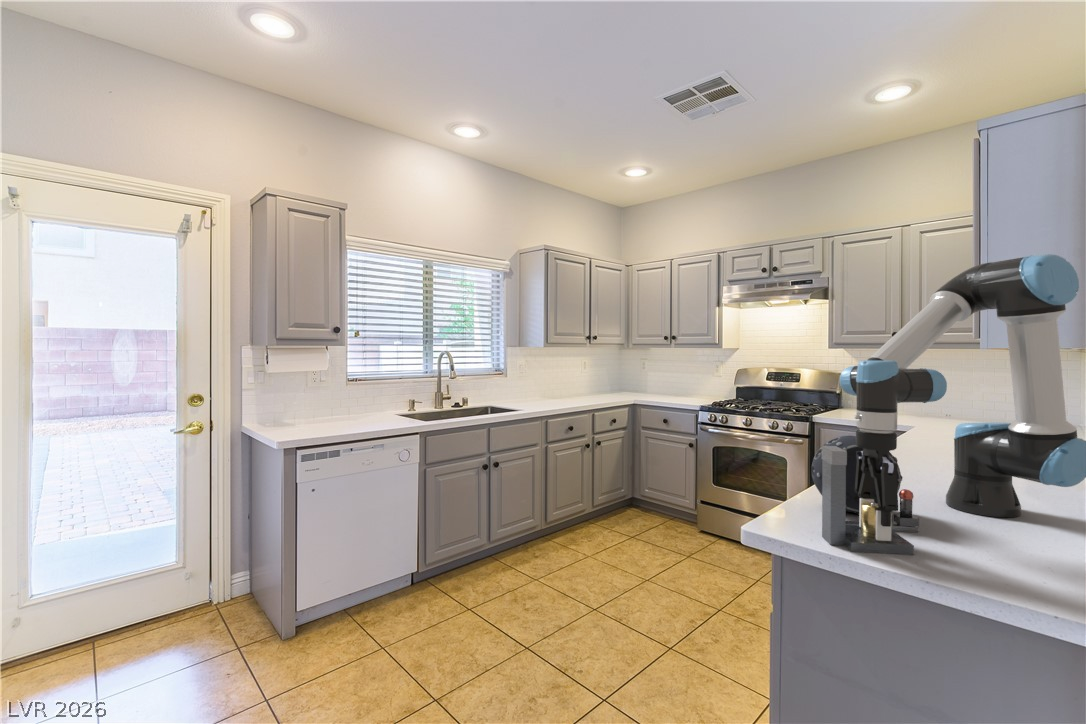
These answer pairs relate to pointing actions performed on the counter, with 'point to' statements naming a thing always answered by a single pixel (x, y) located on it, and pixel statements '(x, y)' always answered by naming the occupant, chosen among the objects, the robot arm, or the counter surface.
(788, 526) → the counter surface
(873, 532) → the cylinder
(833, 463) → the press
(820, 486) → the dark studded drum
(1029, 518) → the counter surface
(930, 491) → the counter surface
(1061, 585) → the counter surface
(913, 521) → the lever
